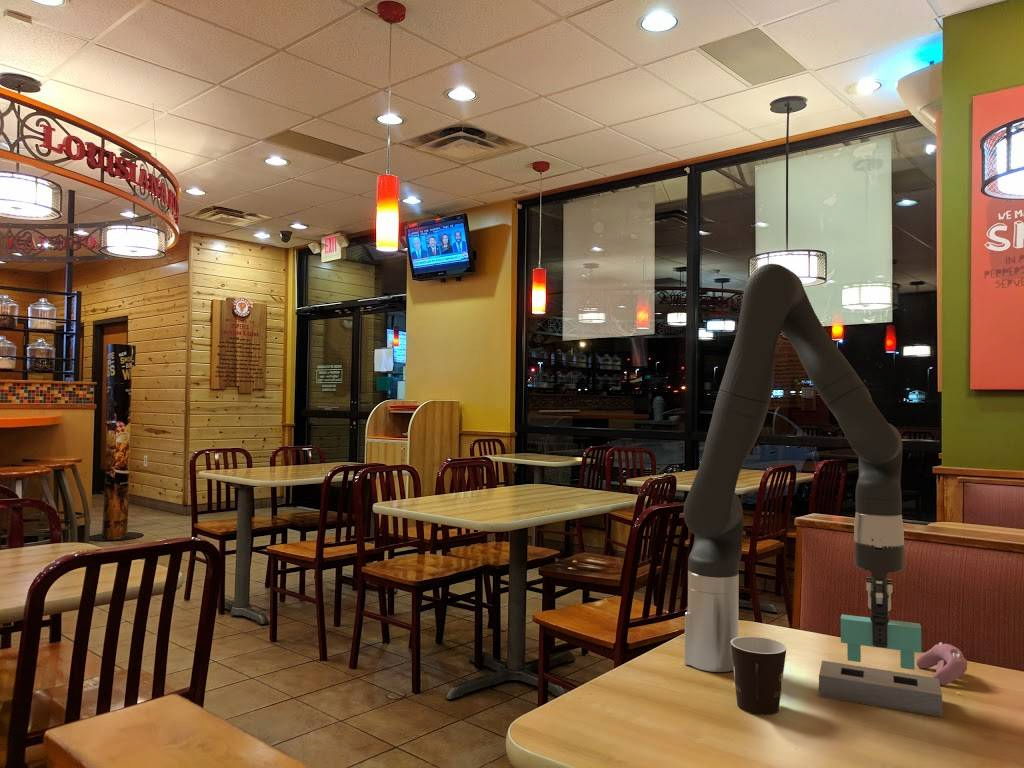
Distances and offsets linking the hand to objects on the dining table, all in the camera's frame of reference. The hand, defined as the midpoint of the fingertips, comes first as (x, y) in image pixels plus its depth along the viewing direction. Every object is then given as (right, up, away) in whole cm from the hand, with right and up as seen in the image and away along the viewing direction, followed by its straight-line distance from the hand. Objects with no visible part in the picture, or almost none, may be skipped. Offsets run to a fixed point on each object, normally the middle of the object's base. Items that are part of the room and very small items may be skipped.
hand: (880, 643), depth 125 cm
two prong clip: (0, -3, 0) cm, 3 cm away
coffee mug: (-23, -9, -6) cm, 25 cm away
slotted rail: (0, -9, 0) cm, 9 cm away
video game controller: (+16, -10, +10) cm, 21 cm away
